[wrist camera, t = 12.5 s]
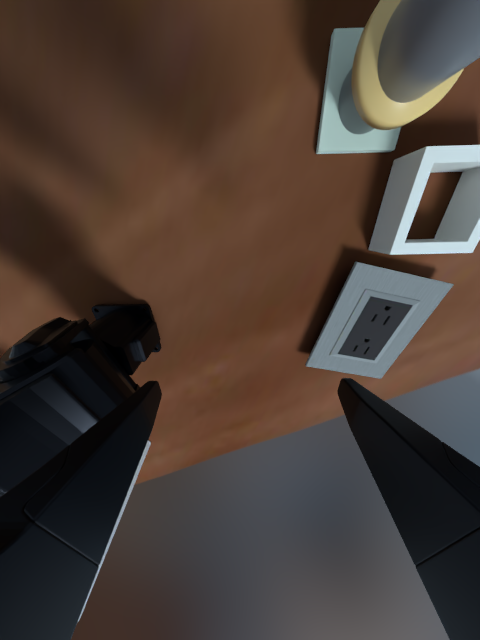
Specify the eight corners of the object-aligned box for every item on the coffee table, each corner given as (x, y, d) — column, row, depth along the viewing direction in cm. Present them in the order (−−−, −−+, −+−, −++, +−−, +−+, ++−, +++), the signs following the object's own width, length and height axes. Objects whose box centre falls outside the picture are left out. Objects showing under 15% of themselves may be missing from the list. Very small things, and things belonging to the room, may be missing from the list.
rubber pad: (315, 154, 15) (318, 152, 15) (331, 35, 12) (334, 28, 12) (390, 151, 15) (394, 150, 14) (422, 32, 12) (429, 25, 12)
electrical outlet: (346, 258, 19) (359, 262, 17) (434, 278, 20) (457, 285, 18) (301, 355, 25) (306, 367, 23) (370, 367, 26) (382, 380, 24)
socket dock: (368, 250, 18) (389, 254, 16) (393, 159, 15) (426, 146, 12) (438, 248, 18) (472, 252, 16) (480, 157, 15) (531, 143, 12)
